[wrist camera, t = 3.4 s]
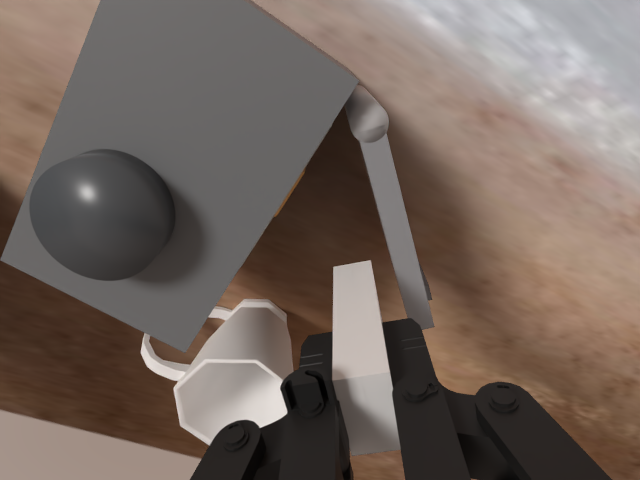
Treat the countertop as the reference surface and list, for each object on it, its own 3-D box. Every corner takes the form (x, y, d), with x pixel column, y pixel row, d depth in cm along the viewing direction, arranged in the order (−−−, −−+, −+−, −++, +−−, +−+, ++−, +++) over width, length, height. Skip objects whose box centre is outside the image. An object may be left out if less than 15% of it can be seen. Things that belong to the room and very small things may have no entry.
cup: (287, 375, 33) (274, 469, 26) (157, 332, 32) (104, 418, 24) (322, 301, 30) (320, 382, 23) (182, 250, 29) (132, 319, 22)
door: (384, 248, 28) (407, 333, 19) (340, 89, 24) (345, 109, 16) (407, 242, 27) (441, 325, 19) (367, 80, 24) (386, 96, 15)
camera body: (122, 182, 27) (-29, 278, 16) (219, -22, 23) (106, -95, 11) (241, 250, 29) (182, 381, 17) (353, 72, 24) (373, 92, 13)
